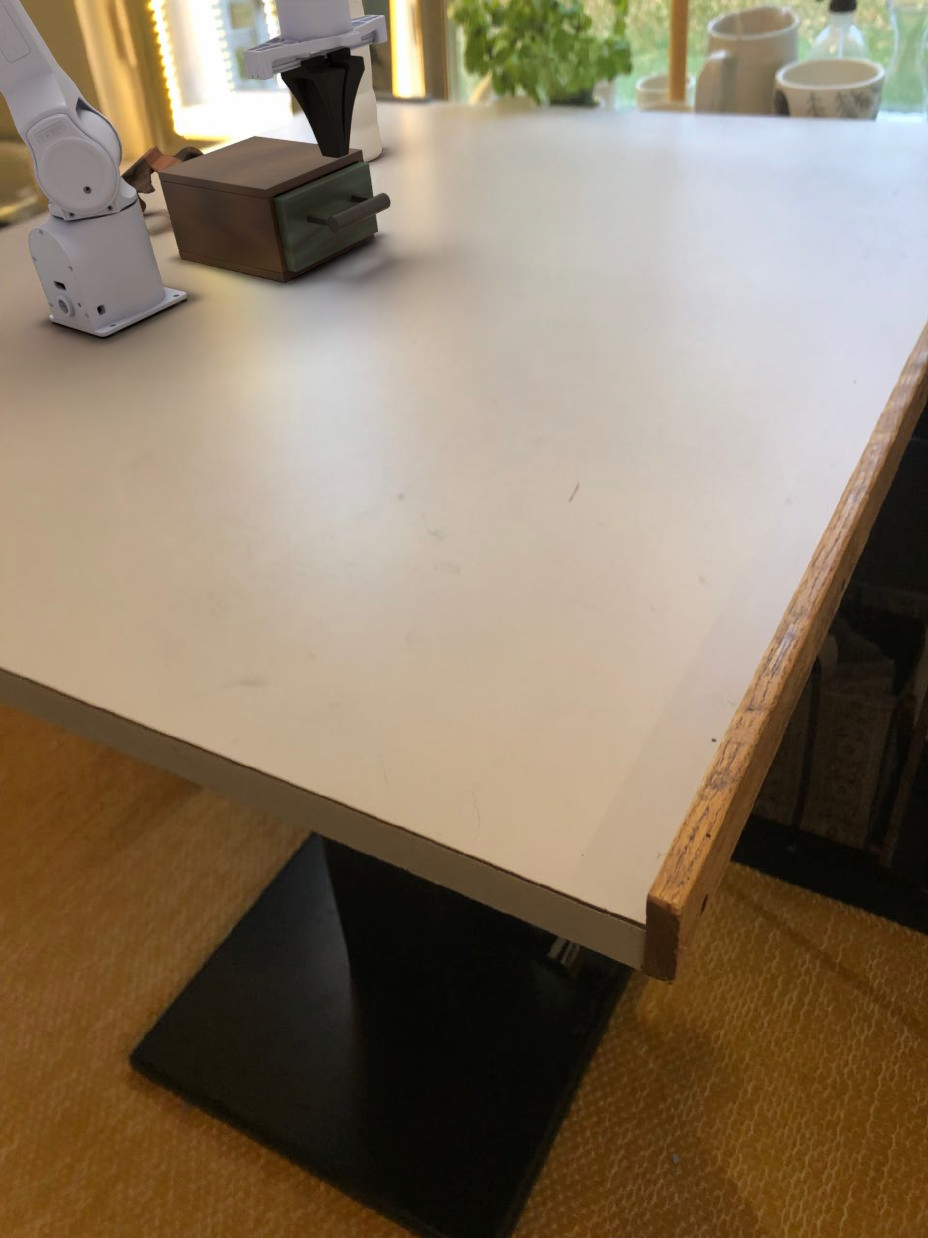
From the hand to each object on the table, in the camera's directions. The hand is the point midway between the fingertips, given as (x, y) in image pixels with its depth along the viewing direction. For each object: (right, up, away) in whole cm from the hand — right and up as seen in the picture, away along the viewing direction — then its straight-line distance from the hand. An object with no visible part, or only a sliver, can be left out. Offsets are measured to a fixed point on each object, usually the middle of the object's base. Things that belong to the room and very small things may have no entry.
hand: (335, 154), depth 84 cm
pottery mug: (-20, +4, +23) cm, 31 cm away
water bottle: (-2, +16, +35) cm, 39 cm away
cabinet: (-7, -3, +12) cm, 15 cm away
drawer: (-4, -4, +10) cm, 11 cm away
